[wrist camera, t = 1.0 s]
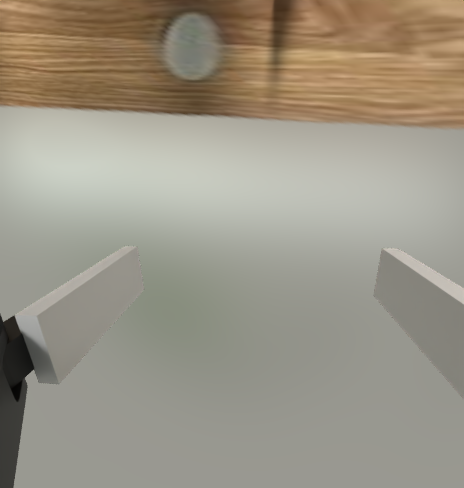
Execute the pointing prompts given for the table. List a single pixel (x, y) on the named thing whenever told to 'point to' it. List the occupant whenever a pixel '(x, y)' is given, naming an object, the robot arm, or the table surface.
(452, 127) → the table surface
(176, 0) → the table surface
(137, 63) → the table surface
